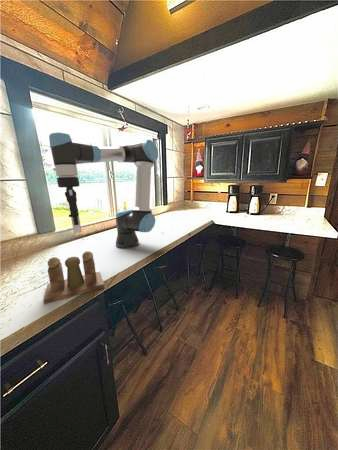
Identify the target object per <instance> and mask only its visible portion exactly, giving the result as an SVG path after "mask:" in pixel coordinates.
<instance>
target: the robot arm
mask: <svg viewBox="0 0 338 450" xmlns="http://www.w3.org/2000/svg"><path fill="white" fill-rule="evenodd" d="M48 138H49V140H48V141H49V148H50V150H51V151H50V153H51V156H52V160H53V165H54V167H53V168H52V171H55V176H56V177H57V178H56V181H57V187H58V188H60V189H61V188H65V191H64V195H65V198H66V202H67V203H68V206H69V208H68V209H69V211H70V212H69V214H68V217H69V218H70V219H71V223H72V224H71V225H72V230H73V234H80V233H82V225H81V219H80V216H79V215H80V213H79V208H78V204H77V201H78V199H77V191H75V190H74V188H77V187H80V179H79V177H78V176H79V172H78V166H77V165H80V164H81V165H82V164H83V165H84V164H95V163H106V162H109V163H110V162H118V163H131V164H132V163H134V165H135V166H136V172H135V173H136V177H135V179H136V180H135V201H134V202H135V206H134V207H133V209H126V210H121V211H117V212H116V213H115V223H116V231H117V235H116V240H115V246H116V247H117V248H118V249H129V248H134V247H137V246H138V245H139V244H140V243H139V241H140V240H139V237H138V235H137V233H136V232H139V233H150V232H151V231H152V230H153V229H154V228H155V225H156V216H155V215H154V214H153V211H152V209H151V208H150V204H151V203H150V200H151V180H152V179H151V178H152V177H151V175H152V167H153V166H154V164H155V161H157V159H158V157H159V150H158V146H157V145H156V143H155V142H154V141H153V140H152V139H143V140H139V141H138V140H137V141H134V142H129V143H125V144H117V145H115V146H99V145H97V144H93V143H87V142H80V141H75V140H74V141H73V138H72V135H71V134H69V133H66V132H60V131H59V132H52V133H50V134H49V137H48Z"/></svg>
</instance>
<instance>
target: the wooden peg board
mask: <svg viewBox="0 0 338 450" xmlns="http://www.w3.org/2000/svg"><path fill="white" fill-rule="evenodd" d="M81 258H82V265H83V266H82V267H83V273H84V274H82V276H83V279H84V284H82V285H81V286H79V287H76V288H69V287H68V286H67V278H66V279H65V276H64V271H63V265H62V262H61V259H60V258H58V257H55V256H54V257H53V256H52V257H51V258H49V259H48V261H47V266H48V267H47V275H48V278H49V279H48V280H49V283H47V284H46V288H45V293H44V297H43V304H49V303H52V302H56V301H59V300H64V299H66V298H71V297H75V296H78V295H82V294H85V293H89V292H92V291H93V292H94V291H97V290H99V289H100V290H101V289H103V288H105V283H104V280H103V276H102V273H101V271H97V270H96V263H95V259H94V254H93V252H91V251H89V250H88V251H84V252H83V253H82V255H81Z"/></svg>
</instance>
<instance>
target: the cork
mask: <svg viewBox="0 0 338 450" xmlns="http://www.w3.org/2000/svg"><path fill="white" fill-rule="evenodd" d="M80 264H81V260H80V258H79V257H78V256H71V257H68V258H66V259H65V261H64V265H65V267H66V269H67V270H66V271H67V274H66V275H67V277H66V279H67V286H68V287H69V288H76V287H79V286H81V285H82V284H84V279H83V273H82V271H81V267H80Z"/></svg>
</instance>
